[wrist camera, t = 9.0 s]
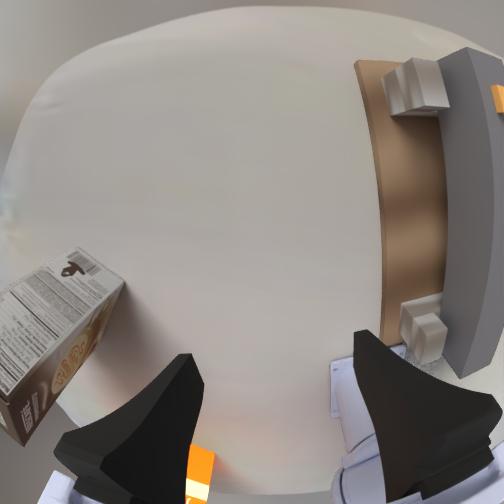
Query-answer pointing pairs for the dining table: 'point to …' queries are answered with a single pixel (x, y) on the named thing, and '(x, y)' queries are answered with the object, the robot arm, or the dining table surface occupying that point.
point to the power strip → (473, 208)
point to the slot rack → (409, 198)
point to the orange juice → (198, 475)
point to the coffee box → (50, 334)
